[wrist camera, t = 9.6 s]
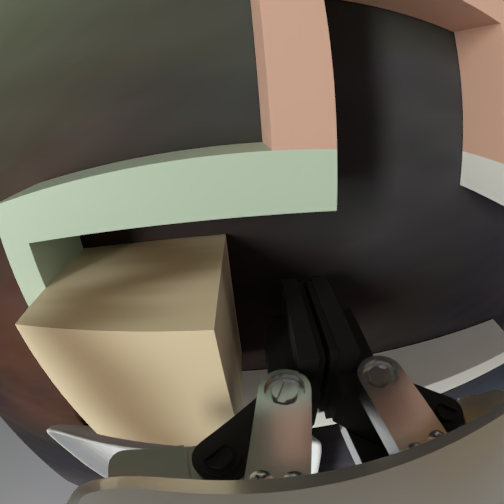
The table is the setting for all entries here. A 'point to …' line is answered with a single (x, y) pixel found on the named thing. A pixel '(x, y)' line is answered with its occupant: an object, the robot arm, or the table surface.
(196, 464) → the robot arm
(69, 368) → the block
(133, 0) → the table surface
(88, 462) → the salad plate
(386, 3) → the pastel wall shelf
